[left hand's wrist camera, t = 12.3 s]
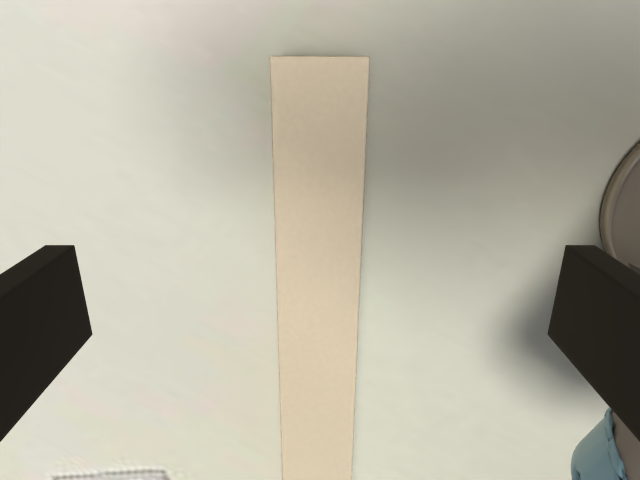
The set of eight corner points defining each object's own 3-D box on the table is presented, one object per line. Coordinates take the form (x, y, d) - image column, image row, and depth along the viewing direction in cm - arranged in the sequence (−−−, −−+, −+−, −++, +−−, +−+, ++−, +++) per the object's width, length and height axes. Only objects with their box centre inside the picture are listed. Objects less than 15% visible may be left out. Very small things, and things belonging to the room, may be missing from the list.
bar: (280, 58, 33) (269, 55, 25) (358, 58, 33) (369, 56, 25) (293, 640, 57) (289, 724, 49) (338, 640, 57) (341, 724, 49)
